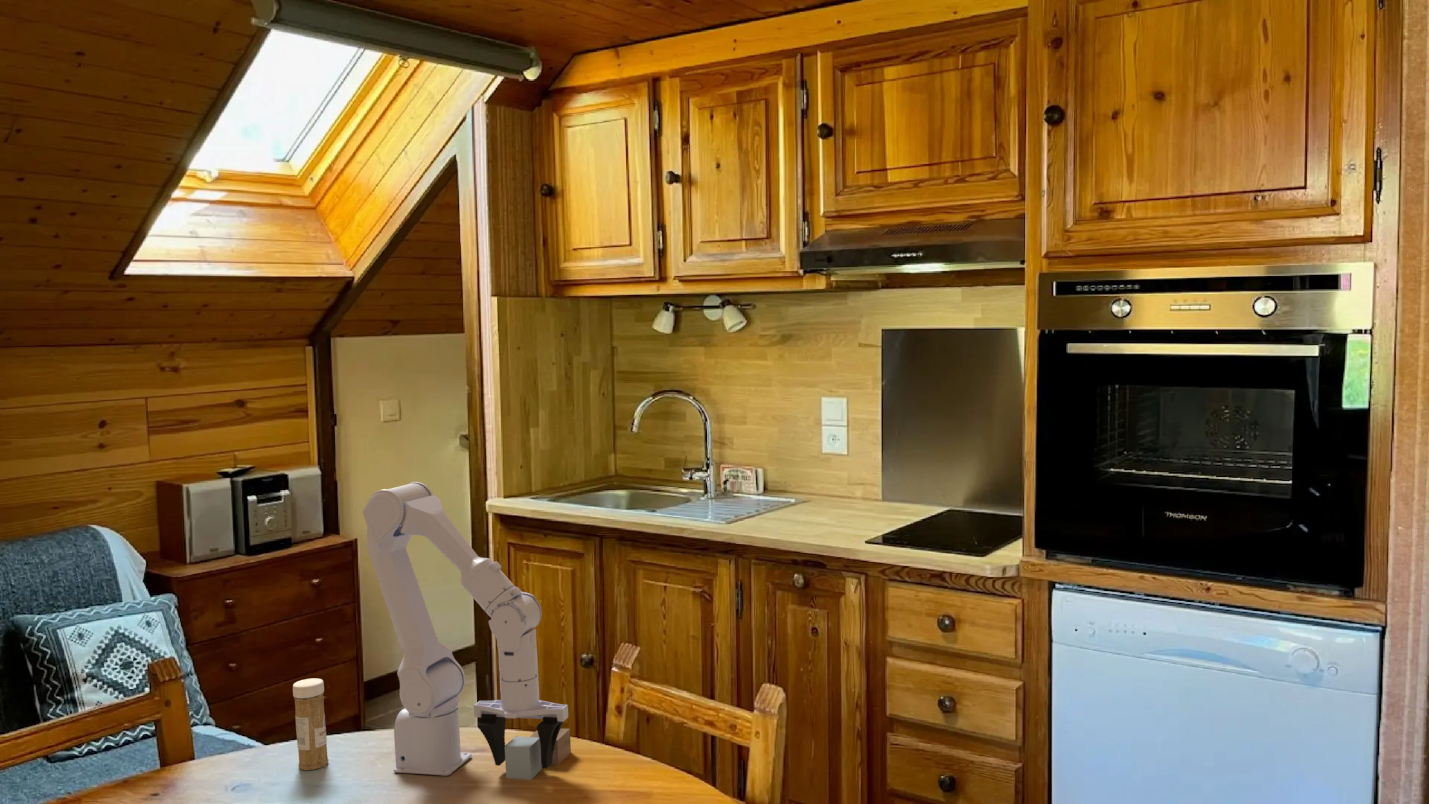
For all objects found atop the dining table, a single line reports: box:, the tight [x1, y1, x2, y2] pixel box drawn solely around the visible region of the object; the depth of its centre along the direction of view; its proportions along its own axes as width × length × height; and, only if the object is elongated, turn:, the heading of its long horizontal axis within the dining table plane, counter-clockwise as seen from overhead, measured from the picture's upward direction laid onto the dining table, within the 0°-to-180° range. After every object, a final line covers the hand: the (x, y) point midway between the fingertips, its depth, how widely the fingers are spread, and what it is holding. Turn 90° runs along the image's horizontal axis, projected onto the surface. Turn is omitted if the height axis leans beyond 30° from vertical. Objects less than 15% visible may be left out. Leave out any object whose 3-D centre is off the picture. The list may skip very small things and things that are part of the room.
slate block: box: [504, 736, 543, 781], centre depth 164 cm, size 4×4×5 cm
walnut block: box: [529, 727, 572, 766], centre depth 170 cm, size 5×5×4 cm
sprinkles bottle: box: [292, 677, 329, 771], centre depth 171 cm, size 5×5×14 cm
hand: (523, 764), depth 164 cm, fingers open, 7 cm apart
